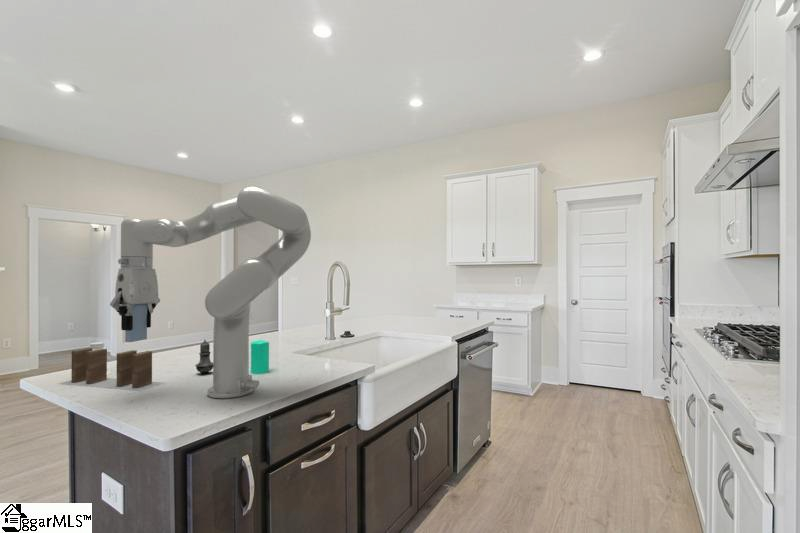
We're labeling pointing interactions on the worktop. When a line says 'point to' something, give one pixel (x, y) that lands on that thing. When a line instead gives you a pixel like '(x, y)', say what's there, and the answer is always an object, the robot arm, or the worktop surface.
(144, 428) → the worktop surface
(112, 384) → the mat
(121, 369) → the tile
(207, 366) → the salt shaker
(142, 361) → the tile
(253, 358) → the candle
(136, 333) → the slate tile
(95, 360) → the tile
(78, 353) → the tile
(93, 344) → the supplement bottle
